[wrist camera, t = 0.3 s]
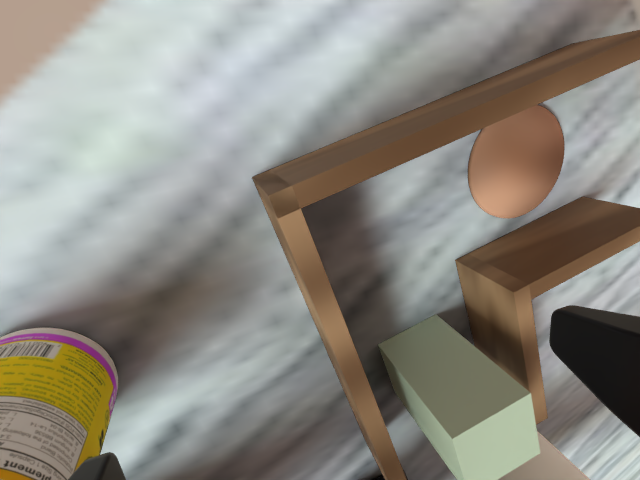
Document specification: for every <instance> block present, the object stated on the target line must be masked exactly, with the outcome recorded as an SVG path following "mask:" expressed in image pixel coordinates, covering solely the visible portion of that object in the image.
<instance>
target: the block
mask: <svg viewBox="0 0 640 480" xmlns="http://www.w3.org/2000/svg"><path fill="white" fill-rule="evenodd" d="M378 346H379V349H380V352H381V355H382V357H383V360H384V363H385V366H386V369H387V371H388V374H389V377H390V380H391V383H392V385H393V388H394V391H395V393H396V395H397V396H398V397H399V399H400V400H401V402H402V403H403V405H404V406H405V407H406V409H407V410H408V412H409V413H410V414H411V416H412V417H413V419H414V420H415V421H416V423H417V424H418V426H419V427H420V428H421V430H422V431H423V433H424V434H425V435H426V437H427V438H428V440H429V441H430V443H431V444H432V445H433V447H434V448H435V450H436V451H437V452H438V454H439V455H440V457H441V458H442V459H443V461H444V462H445V464H446V465H447V466H448V468H449V469H450V471H451V472H452V473H453V475H454V476H455V478H456V479H457V480H498V479H499V478H501V477H503V476H504V475H506V474H507V473H509V472H511V471H512V470H514V469H515V468H517V467H519V466H520V465H522V464H524V463H525V462H527V461H528V460H530V459H532V458H533V457H535V456H537V455H538V454H540V447H539V441H538V434H537V428H536V422H535V416H534V409H533V403H532V397H531V393H530V392H529V391H528V390H527V389H525V388H524V387H523V386H522V385H521V384H519V383H518V382H517V381H516V380H515V379H513V378H512V377H511V376H510V375H508V374H507V373H506V372H505V371H504V370H502V369H501V368H500V367H499V366H498V365H496V364H495V363H494V362H493V361H492V360H490V359H489V358H488V357H487V356H486V355H484V354H483V353H482V352H481V351H480V350H478V349H477V348H476V347H475V346H474V345H472V344H471V343H470V342H469V341H468V340H466V339H465V338H464V337H463V336H462V335H460V334H459V333H458V332H457V331H456V330H454V329H453V328H452V327H451V326H449V325H448V324H447V323H446V322H445V321H443V320H442V319H441V318H440V317H439V316H437V315H434V316H432V317H430V318H428V319H426V320H424V321H422V322H420V323H418V324H416V325H414V326H412V327H411V328H409V329H407V330H405V331H403V332H401V333H399V334H397V335H395V336H393V337H391V338H389V339H387V340H386V341H384V342H382V343H380V344H378Z"/></svg>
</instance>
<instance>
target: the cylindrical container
mask: <svg viewBox="0 0 640 480" xmlns="http://www.w3.org/2000/svg"><path fill="white" fill-rule="evenodd" d="M537 434H538V441H539V447H540V454H538V455H537V456H535V457H533V458H532V459H530V460H528V461H527V462H525V463H524V464H522V465H520V466H519V467H517V468H515V469H514V470H512V471H511V472H509V473H507V474H506V475H504V476H503V477H501V478H499V479H498V480H590V479H589V478H588V477H587V476H586V475H585V474H584V473H583V472H581V471H580V470H579V469H578V468H577V467H576V466H575V465H574V464H573V463H572V462H571V461H570V460H568V459H567V458H566V457H565V456H564V455H563V454H562V453H561V452H560V451H559V450H558V449H557V448H555V447H554V446H553V445H552V444H551V443H550V442H549V441H548V440H547V439H546V438H545V437H544V436H542V435H541V434H540V433H539V432H538V431H537Z"/></svg>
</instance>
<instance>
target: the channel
mask: <svg viewBox="0 0 640 480" xmlns="http://www.w3.org/2000/svg"><path fill="white" fill-rule="evenodd" d="M639 59H640V30H637V31H632V32H627V33H622V34H618V35H613V36H608V37H603V38H598V39H593V40H588V41H583V42H578V43H573V44H570V45H568V46H565V47H563V48H561V49H558V50H556V51H553V52H551V53H549V54H546V55H544V56H541V57H539V58H537V59H534V60H532V61H529V62H527V63H525V64H522V65H520V66H517V67H515V68H513V69H510V70H508V71H505V72H503V73H501V74H498V75H496V76H494V77H491V78H489V79H486V80H484V81H482V82H479V83H477V84H474V85H472V86H470V87H467V88H465V89H462V90H460V91H458V92H455V93H453V94H450V95H448V96H446V97H443V98H441V99H438V100H436V101H434V102H431V103H429V104H426V105H424V106H422V107H419V108H417V109H414V110H412V111H410V112H407V113H405V114H402V115H400V116H398V117H395V118H393V119H390V120H388V121H386V122H383V123H381V124H378V125H376V126H374V127H371V128H369V129H366V130H364V131H362V132H359V133H357V134H354V135H352V136H350V137H347V138H345V139H342V140H340V141H338V142H335V143H333V144H330V145H328V146H326V147H323V148H321V149H318V150H316V151H314V152H311V153H309V154H306V155H304V156H302V157H299V158H297V159H294V160H292V161H290V162H287V163H285V164H282V165H280V166H278V167H275V168H273V169H270V170H268V171H266V172H263V173H261V174H258V175H256V176H254V177H252V179H253V181H254V183H255V186H256V188H257V190H258V193H259V195H260V197H261V200H262V202H263V204H264V206H265V209H266V211H267V213H268V216H269V218H270V220H271V223H272V225H273V227H274V230H275V232H276V234H277V237H278V239H279V241H280V244H281V246H282V248H283V251H284V253H285V255H286V258H287V260H288V262H289V264H290V267H291V269H292V271H293V274H294V276H295V278H296V281H297V283H298V285H299V288H300V290H301V292H302V295H303V297H304V299H305V302H306V304H307V306H308V309H309V311H310V313H311V316H312V318H313V320H314V322H315V325H316V327H317V329H318V332H319V334H320V336H321V339H322V341H323V343H324V346H325V348H326V350H327V353H328V355H329V357H330V360H331V362H332V364H333V367H334V369H335V371H336V374H337V376H338V378H339V380H340V383H341V385H342V387H343V390H344V392H345V394H346V397H347V399H348V401H349V404H350V406H351V408H352V411H353V413H354V415H355V418H356V420H357V422H358V425H359V427H360V429H361V432H362V434H363V436H364V438H365V441H366V443H367V445H368V447H369V449H370V451H371V453H372V455H373V457H374V458H375V460H376V462H377V464H378V466H379V468H380V470H381V472H382V474H383V476H384V478H385V480H406V477H405V474H404V472H403V469H402V467H401V464H400V462H399V459H398V456H397V454H396V451H395V449H394V446H393V444H392V441H391V439H390V436H389V433H388V431H387V428H386V426H385V423H384V421H383V418H382V415H381V413H380V410H379V408H378V405H377V403H376V400H375V398H374V395H373V392H372V390H371V387H370V385H369V382H368V380H367V377H366V374H365V372H364V369H363V367H362V364H361V362H360V359H359V357H358V354H357V351H356V349H355V346H354V344H353V341H352V339H351V336H350V334H349V331H348V328H347V326H346V323H345V321H344V318H343V316H342V313H341V310H340V308H339V305H338V303H337V300H336V298H335V295H334V293H333V290H332V287H331V285H330V282H329V280H328V277H327V275H326V272H325V269H324V267H323V264H322V262H321V259H320V257H319V254H318V252H317V249H316V246H315V244H314V241H313V239H312V236H311V234H310V231H309V228H308V226H307V223H306V221H305V218H304V216H303V213H302V211H301V208H303V207H306V206H308V205H310V204H312V203H315V202H317V201H319V200H321V199H324V198H326V197H328V196H330V195H333V194H335V193H337V192H340V191H342V190H344V189H346V188H349V187H351V186H353V185H355V184H358V183H360V182H362V181H365V180H367V179H369V178H371V177H374V176H376V175H378V174H380V173H383V172H385V171H387V170H390V169H392V168H394V167H396V166H399V165H401V164H403V163H405V162H408V161H410V160H412V159H414V158H417V157H419V156H421V155H424V154H426V153H428V152H430V151H433V150H435V149H437V148H439V147H442V146H444V145H446V144H449V143H451V142H453V141H455V140H458V139H460V138H462V137H464V136H467V135H469V134H471V133H474V132H476V131H478V130H480V129H482V130H481V132H480V133H479V135H478V137H477V139H476V141H475V143H474V145H473V148H472V151H471V154H470V158H469V163H468V182H469V187H470V191H471V194H472V196H473V198H474V200H475V202H476V203H477V204H478V206H479V207H480V208H481V209H482V210H484V211H485V212H487V213H488V214H490V215H493V216H496V217H500V218H515V217H519V216H522V215H524V214H526V213H528V212H530V211H531V210H533V209H534V208H536V207H537V206H538V205H539V204H540V203H541V202H542V201H543V200H544V199H545V198H546V197H547V195H548V194H549V193H550V191H551V190H552V188H553V187H554V185H555V183H556V181H557V179H558V176H559V174H560V171H561V167H562V164H563V158H564V138H563V133H562V130H561V127H560V125H559V123H558V121H557V119H556V118H555V117H554V115H553V114H552V113H551V112H550V111H548V110H547V109H546V108H544V107H542V106H539V105H537V104H539V103H542V102H544V101H546V100H548V99H551V98H553V97H555V96H558V95H560V94H562V93H564V92H567V91H569V90H571V89H573V88H576V87H578V86H580V85H582V84H585V83H587V82H589V81H592V80H594V79H596V78H598V77H601V76H603V75H605V74H607V73H610V72H612V71H614V70H617V69H619V68H621V67H623V66H626V65H628V64H630V63H632V62H635V61H637V60H639ZM639 241H640V208H635V207H631V206H626V205H621V204H616V203H611V202H606V201H601V200H596V199H592V198H587V197H581V198H579V199H577V200H575V201H573V202H571V203H569V204H567V205H565V206H563V207H561V208H559V209H557V210H555V211H553V212H551V213H549V214H547V215H545V216H543V217H541V218H539V219H537V220H535V221H533V222H531V223H529V224H527V225H525V226H523V227H521V228H519V229H517V230H515V231H513V232H511V233H509V234H507V235H505V236H503V237H501V238H499V239H497V240H495V241H493V242H491V243H489V244H487V245H485V246H483V247H481V248H479V249H477V250H475V251H473V252H471V253H469V254H467V255H465V256H463V257H461V258H459V259H457V260H455V261H456V266H457V270H458V274H459V279H460V283H461V288H462V292H463V297H464V301H465V305H466V310H467V314H468V319H469V323H470V328H471V332H472V336H473V341H474V345H475V347H476V348H477V349H478V350H480V351H481V352H482V353H483V354H484V355H486V356H487V357H488V358H489V359H490V360H492V361H493V362H494V363H495V364H496V365H498V366H499V367H500V368H501V369H502V370H504V371H505V372H506V373H507V374H508V375H510V376H511V377H512V378H513V379H515V380H516V381H517V382H518V383H519V384H521V385H522V386H523V387H524V388H525V389H527V390H528V391H529V392H530V393H531V397H532V403H533V409H534V416H535V422H536V425H537V424H538V423H540V422H542V421H543V420H545V419H547V418H548V416H547V409H546V402H545V395H544V388H543V381H542V373H541V366H540V359H539V352H538V345H537V338H536V331H535V323H534V316H533V309H532V302H531V299H533V298H535V297H537V296H539V295H541V294H542V293H544V292H546V291H548V290H550V289H552V288H554V287H555V286H557V285H559V284H561V283H563V282H565V281H567V280H568V279H570V278H572V277H574V276H576V275H578V274H580V273H581V272H583V271H585V270H587V269H589V268H591V267H593V266H594V265H596V264H598V263H600V262H602V261H604V260H606V259H607V258H609V257H611V256H613V255H615V254H617V253H619V252H620V251H622V250H624V249H626V248H628V247H630V246H632V245H633V244H635V243H637V242H639Z"/></svg>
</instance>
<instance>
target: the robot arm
mask: <svg viewBox="0 0 640 480" xmlns="http://www.w3.org/2000/svg"><path fill="white" fill-rule="evenodd" d="M549 342H550V346H551V349H552V350H553V352H554V353H555V354H556V355H557V356H558V358H559V359H560V360H561V361H562V362H563V363H564V364H565V365H566V366H567V367H568V368H569V369H570V370H571V371H572V372H573V373H574V374H575V375H576V376H577V377H578V378H579V379H580V380H581V381H582V382H583V383H584V384H585V385H586V386H587V387H588V388H589V389H590V391H591V392H592V393H593V394H594V395H595V396H596V397H597V398H598V399H599V400H600V401H601V402H602V403H603V404H604V405H605V406H606V407H607V408H608V409H609V410H610V411H611V412H612V413H613V414H615V415H616V416H617V417H618V418H619V419H620V420H621V421H622V422H623V423H624V424H626V425H627V426H628V427H629V428H630V429H631V430H632V431H633V432H635V433H636V434H637V435H638V436H639V437H640V317H637V316H632V315H626V314H620V313H614V312H609V311H603V310H597V309H591V308H585V307H580V306H573V305H572V306H566V307H563V308H560V309H557V310H555V311H554V312H553V314H552V316H551V327H550V340H549ZM402 469H403V468H402ZM403 472H404V470H403ZM404 474H405V472H404ZM405 477H406V480H408V479H407V476H406V474H405ZM68 480H126V478H125V476H124V474H123V471H122V469H121V466H120V464H119V461H118V459H117V457H116V456H115V454H114V453H111V452H108V453H105V454H102V455H99V456H95V457H92V458H89V459H87V460H85V461H84V462H83V463H82V464H81V465H80V466H79V467H78V468H77V469H76V471H75V472H74V473H73V474H72V475H71V476H70V477H69V479H68ZM375 480H385V478H384V476H383V475H382V476H381V477H379V478H377V479H375Z"/></svg>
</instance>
